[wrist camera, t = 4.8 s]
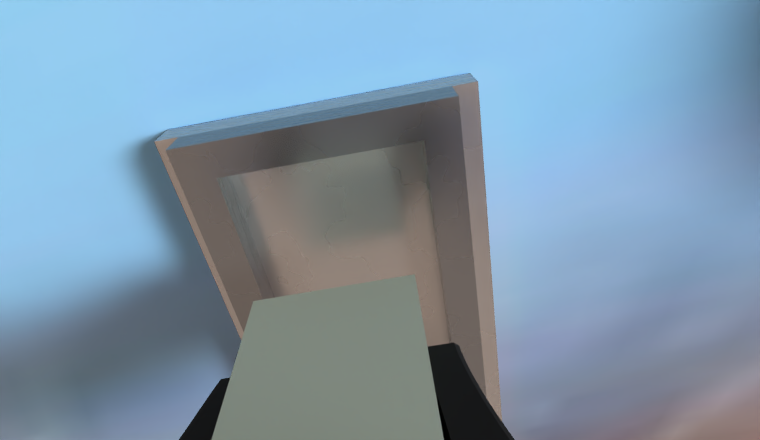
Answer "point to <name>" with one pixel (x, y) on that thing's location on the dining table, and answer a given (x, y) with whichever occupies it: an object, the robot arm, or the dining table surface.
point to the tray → (349, 205)
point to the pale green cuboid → (334, 368)
